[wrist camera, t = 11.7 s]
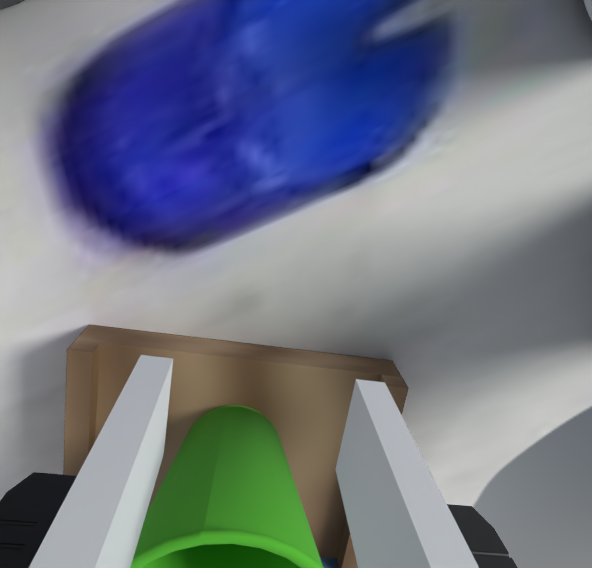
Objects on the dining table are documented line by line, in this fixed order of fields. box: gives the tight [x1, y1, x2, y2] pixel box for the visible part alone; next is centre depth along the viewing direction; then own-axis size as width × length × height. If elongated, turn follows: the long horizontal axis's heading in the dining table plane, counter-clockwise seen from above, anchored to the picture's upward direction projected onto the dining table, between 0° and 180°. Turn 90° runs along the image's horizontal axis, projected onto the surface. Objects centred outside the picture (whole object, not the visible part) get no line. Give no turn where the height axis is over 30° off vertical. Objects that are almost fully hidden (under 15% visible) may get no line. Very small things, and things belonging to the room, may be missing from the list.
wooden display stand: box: [63, 325, 408, 568], centre depth 25 cm, size 17×14×10 cm
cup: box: [131, 405, 324, 568], centre depth 22 cm, size 9×9×11 cm
